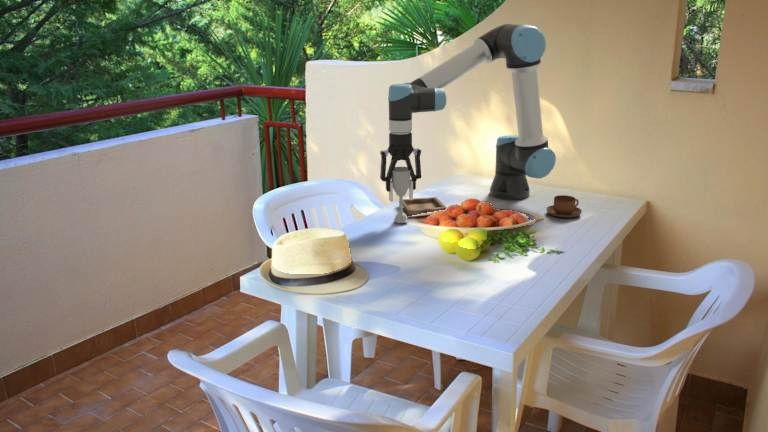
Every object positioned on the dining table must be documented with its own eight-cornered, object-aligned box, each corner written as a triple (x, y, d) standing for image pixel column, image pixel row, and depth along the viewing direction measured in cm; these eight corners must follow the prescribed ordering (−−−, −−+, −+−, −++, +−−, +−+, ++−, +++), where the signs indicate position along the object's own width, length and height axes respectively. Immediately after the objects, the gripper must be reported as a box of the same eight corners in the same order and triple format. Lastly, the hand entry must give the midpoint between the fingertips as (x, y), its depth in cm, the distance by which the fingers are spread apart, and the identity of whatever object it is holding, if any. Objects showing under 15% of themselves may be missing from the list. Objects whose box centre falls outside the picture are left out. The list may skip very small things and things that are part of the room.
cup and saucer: (557, 207, 251) (559, 191, 249) (587, 214, 243) (589, 198, 241) (539, 215, 243) (540, 198, 241) (569, 222, 235) (570, 205, 233)
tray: (435, 203, 257) (436, 197, 256) (446, 214, 244) (447, 207, 243) (399, 206, 254) (399, 199, 253) (408, 217, 241) (408, 210, 240)
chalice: (412, 217, 238) (412, 166, 233) (411, 223, 232) (411, 171, 226) (391, 217, 239) (390, 166, 233) (389, 223, 233) (388, 171, 227)
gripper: (425, 128, 231) (425, 194, 238) (369, 131, 228) (370, 198, 235) (431, 132, 224) (431, 200, 231) (373, 135, 221) (375, 204, 228)
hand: (400, 199), depth 233 cm, fingers closed on chalice, 6 cm apart
